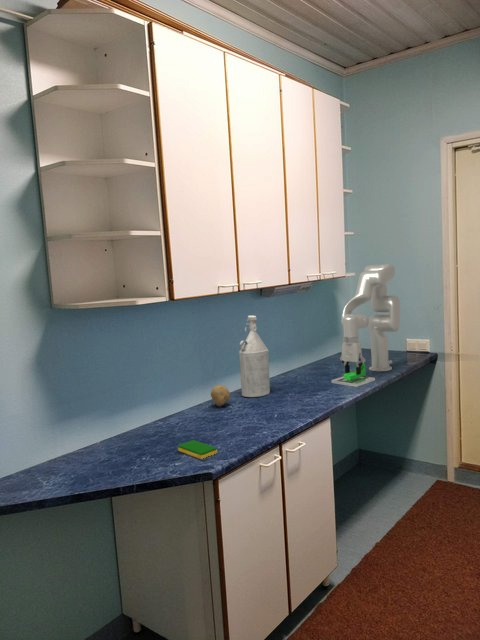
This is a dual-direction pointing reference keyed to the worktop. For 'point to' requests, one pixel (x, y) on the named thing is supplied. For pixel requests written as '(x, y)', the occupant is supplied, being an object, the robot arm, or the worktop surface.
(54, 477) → the worktop surface
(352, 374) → the mechanical part
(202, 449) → the dish sponge
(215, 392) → the natural sponge
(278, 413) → the worktop surface
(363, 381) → the flange
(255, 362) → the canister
